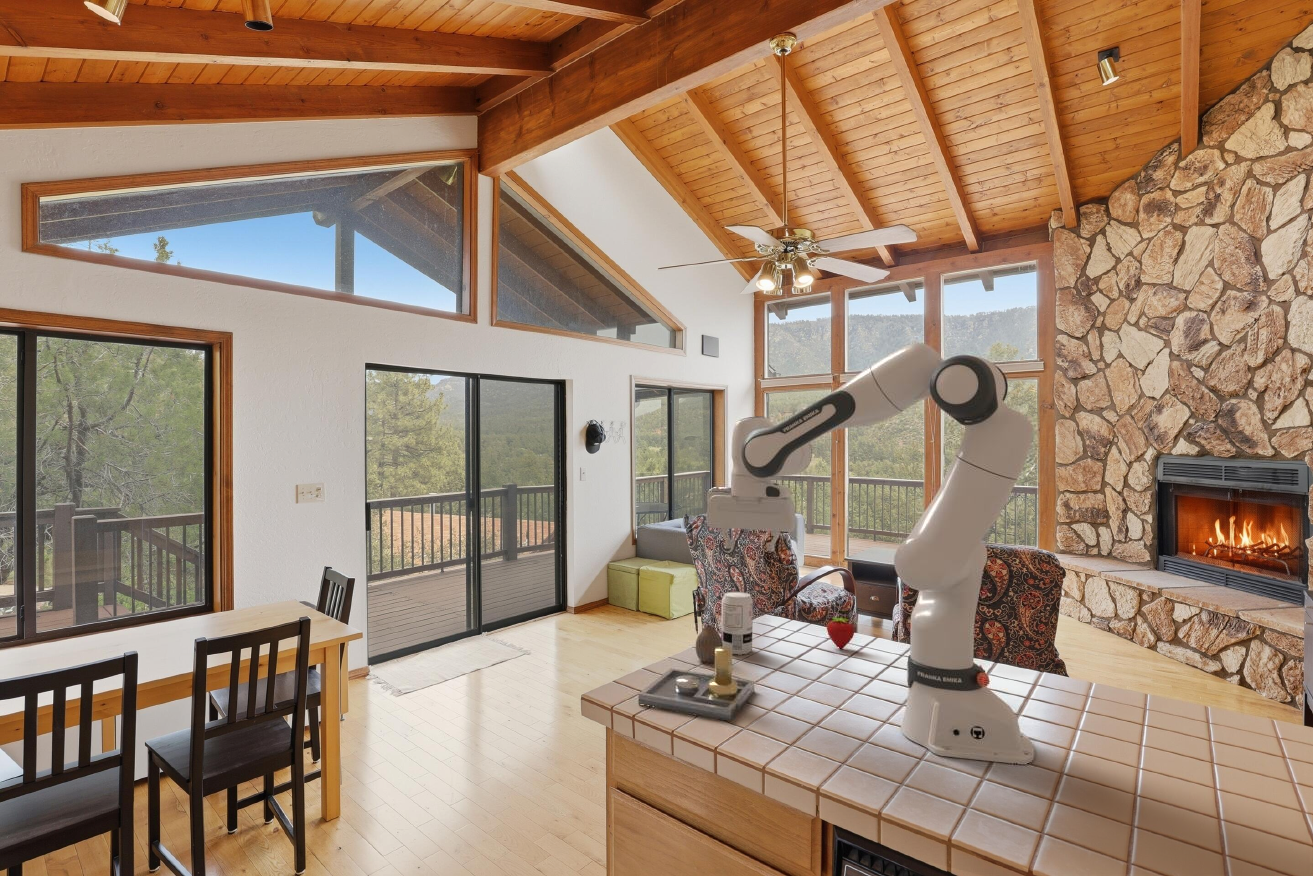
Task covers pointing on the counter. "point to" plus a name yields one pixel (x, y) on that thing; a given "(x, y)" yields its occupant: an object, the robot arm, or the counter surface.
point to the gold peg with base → (723, 676)
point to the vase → (708, 644)
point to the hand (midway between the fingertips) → (749, 549)
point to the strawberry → (840, 631)
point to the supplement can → (737, 622)
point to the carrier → (693, 695)
